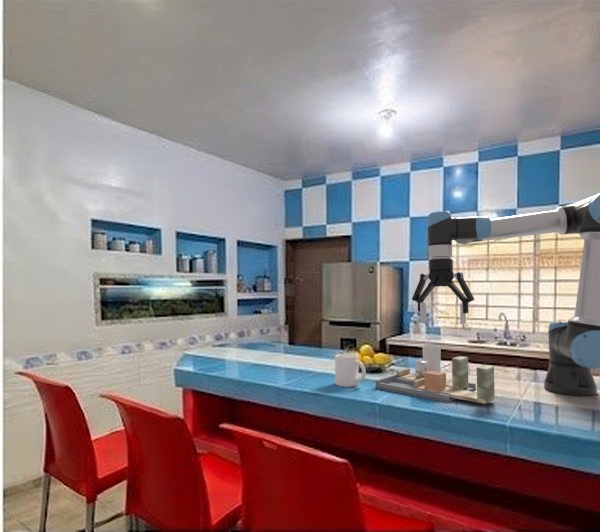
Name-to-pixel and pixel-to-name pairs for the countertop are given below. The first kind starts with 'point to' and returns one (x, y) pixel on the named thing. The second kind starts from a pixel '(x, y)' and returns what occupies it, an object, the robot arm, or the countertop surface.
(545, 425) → the countertop surface
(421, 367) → the tin can
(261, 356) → the countertop surface
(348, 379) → the mug
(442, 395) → the lane board
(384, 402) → the countertop surface
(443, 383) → the terracotta cube
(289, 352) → the countertop surface
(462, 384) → the strip
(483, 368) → the strip
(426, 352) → the grey bookend
